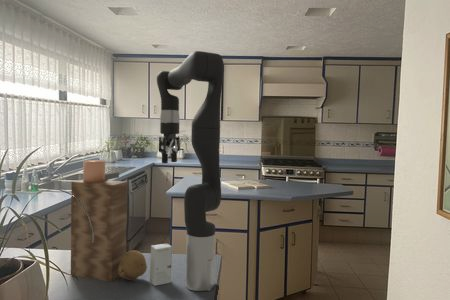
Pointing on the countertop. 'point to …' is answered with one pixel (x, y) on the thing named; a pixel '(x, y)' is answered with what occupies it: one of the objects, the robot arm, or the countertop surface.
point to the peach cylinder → (96, 172)
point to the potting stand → (98, 228)
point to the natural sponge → (132, 265)
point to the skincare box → (160, 264)
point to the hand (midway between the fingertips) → (169, 162)
